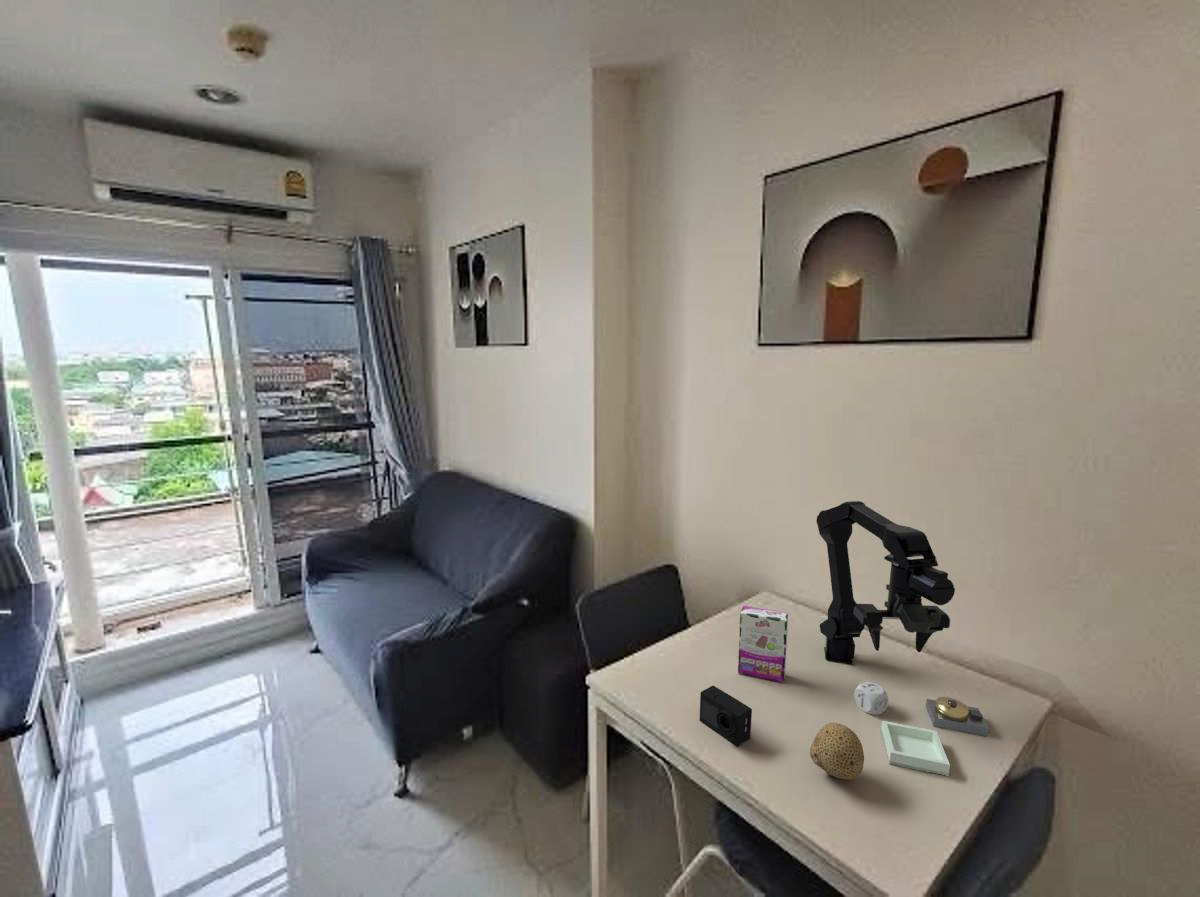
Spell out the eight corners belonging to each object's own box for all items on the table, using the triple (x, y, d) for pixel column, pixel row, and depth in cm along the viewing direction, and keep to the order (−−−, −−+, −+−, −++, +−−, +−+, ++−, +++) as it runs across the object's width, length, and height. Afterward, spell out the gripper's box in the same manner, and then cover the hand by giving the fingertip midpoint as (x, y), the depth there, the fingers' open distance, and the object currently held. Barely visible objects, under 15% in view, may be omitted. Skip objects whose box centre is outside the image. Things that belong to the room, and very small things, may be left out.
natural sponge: (874, 791, 98) (879, 742, 97) (830, 799, 96) (835, 749, 95) (842, 756, 107) (846, 710, 105) (801, 763, 105) (805, 716, 104)
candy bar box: (785, 673, 136) (789, 612, 133) (783, 684, 131) (788, 620, 128) (739, 663, 140) (742, 604, 137) (736, 673, 135) (740, 612, 133)
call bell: (933, 726, 116) (935, 707, 115) (925, 706, 123) (927, 689, 122) (988, 736, 113) (990, 717, 112) (977, 716, 119) (979, 698, 119)
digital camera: (694, 722, 117) (696, 693, 116) (711, 713, 120) (712, 684, 119) (733, 750, 109) (735, 718, 108) (750, 738, 112) (752, 708, 111)
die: (853, 703, 124) (854, 683, 123) (870, 699, 125) (871, 679, 125) (870, 717, 119) (872, 696, 118) (887, 712, 121) (889, 692, 120)
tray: (889, 763, 105) (890, 752, 105) (881, 731, 114) (882, 720, 114) (948, 776, 102) (950, 764, 101) (934, 742, 111) (936, 731, 111)
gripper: (877, 600, 113) (871, 669, 115) (969, 602, 112) (961, 672, 114) (855, 579, 124) (850, 642, 126) (939, 581, 123) (932, 645, 125)
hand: (897, 650), depth 123 cm, fingers open, 9 cm apart
